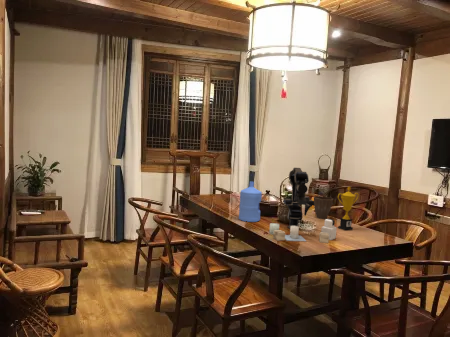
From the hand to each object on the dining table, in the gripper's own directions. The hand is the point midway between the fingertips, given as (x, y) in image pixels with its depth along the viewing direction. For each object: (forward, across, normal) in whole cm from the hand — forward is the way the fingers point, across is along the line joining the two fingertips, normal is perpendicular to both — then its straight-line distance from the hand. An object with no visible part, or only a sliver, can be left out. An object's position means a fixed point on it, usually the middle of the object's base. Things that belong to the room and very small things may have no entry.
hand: (297, 215), depth 239 cm
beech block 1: (+12, -15, -14) cm, 24 cm away
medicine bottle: (+12, +18, -8) cm, 23 cm away
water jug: (+12, -25, +35) cm, 45 cm away
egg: (+12, -5, -11) cm, 17 cm away
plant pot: (+12, +35, +50) cm, 62 cm away
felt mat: (+12, -5, -11) cm, 17 cm away
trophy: (+12, +40, +17) cm, 45 cm away
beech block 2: (+12, +12, -16) cm, 23 cm away
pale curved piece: (+12, -15, -1) cm, 19 cm away
